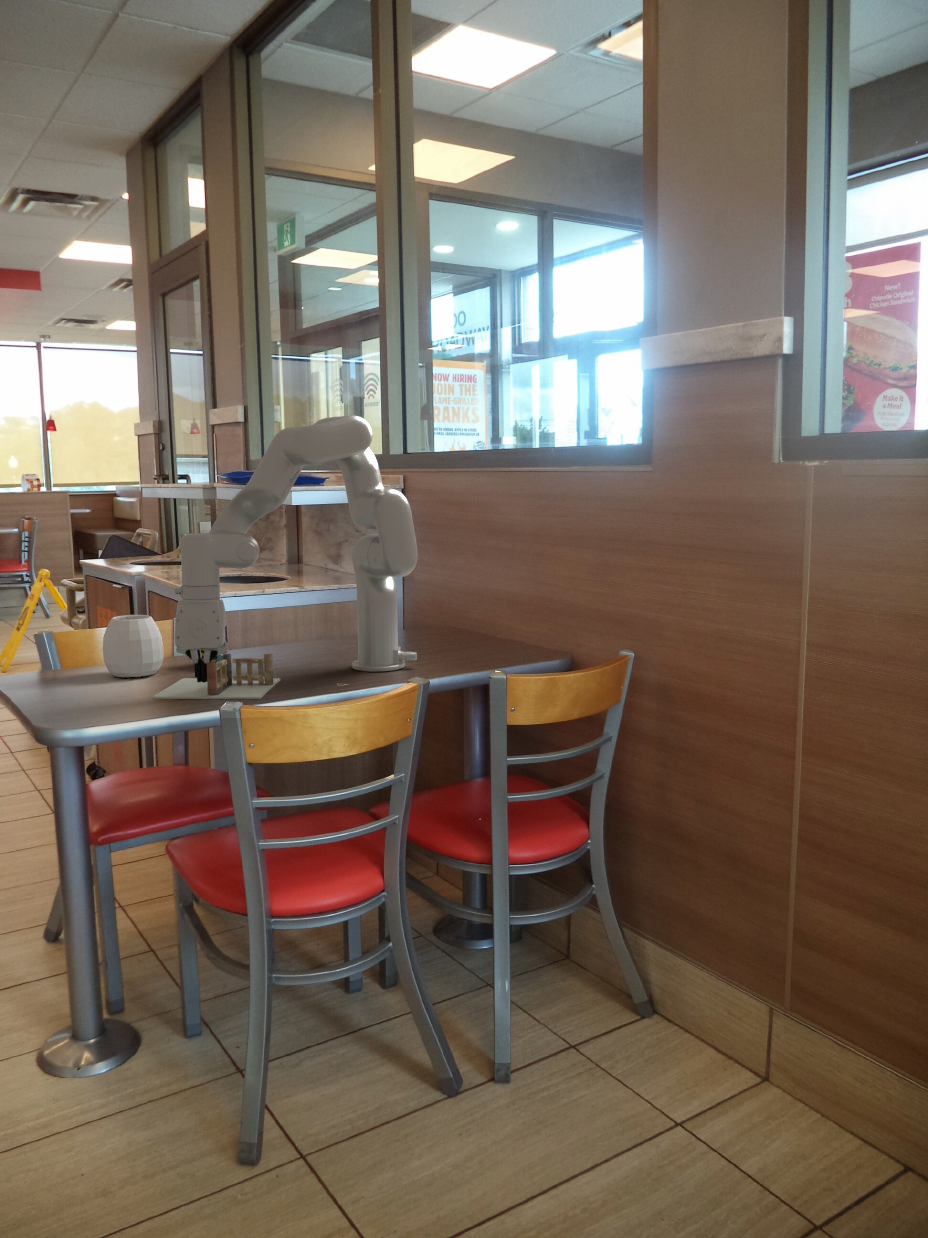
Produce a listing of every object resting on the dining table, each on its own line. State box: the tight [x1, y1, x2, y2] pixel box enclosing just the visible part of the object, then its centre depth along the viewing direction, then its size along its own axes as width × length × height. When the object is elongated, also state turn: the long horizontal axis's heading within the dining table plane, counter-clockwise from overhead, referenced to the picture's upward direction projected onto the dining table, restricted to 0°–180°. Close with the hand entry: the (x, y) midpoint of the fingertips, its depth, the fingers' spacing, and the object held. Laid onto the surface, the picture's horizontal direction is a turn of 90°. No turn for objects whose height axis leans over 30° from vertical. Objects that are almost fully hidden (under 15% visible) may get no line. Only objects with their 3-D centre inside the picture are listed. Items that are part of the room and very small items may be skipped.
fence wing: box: [207, 659, 228, 694], centre depth 202 cm, size 10×2×6 cm, turn 177°
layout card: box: [152, 677, 281, 700], centre depth 206 cm, size 22×19×1 cm
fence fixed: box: [221, 653, 274, 685], centre depth 208 cm, size 11×2×7 cm, turn 88°
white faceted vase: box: [102, 614, 164, 678], centre depth 221 cm, size 13×13×14 cm
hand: (203, 681), depth 201 cm, fingers closed
